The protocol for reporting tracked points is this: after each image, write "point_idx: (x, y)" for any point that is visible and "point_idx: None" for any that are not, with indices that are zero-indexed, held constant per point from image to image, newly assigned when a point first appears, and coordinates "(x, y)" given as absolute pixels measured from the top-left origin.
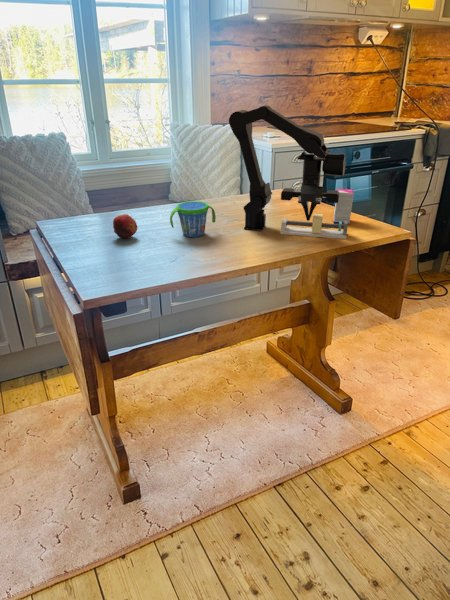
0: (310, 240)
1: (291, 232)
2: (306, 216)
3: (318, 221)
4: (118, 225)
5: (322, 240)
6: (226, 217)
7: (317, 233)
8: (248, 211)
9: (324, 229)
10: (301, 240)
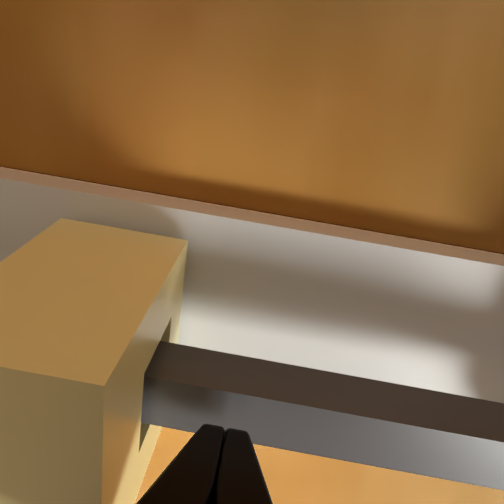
0: (216, 22)
1: (482, 268)
2: (255, 494)
3: (7, 319)
4: None
5: (41, 39)
6: None
7: None
8: None
9: None
10: (359, 9)
